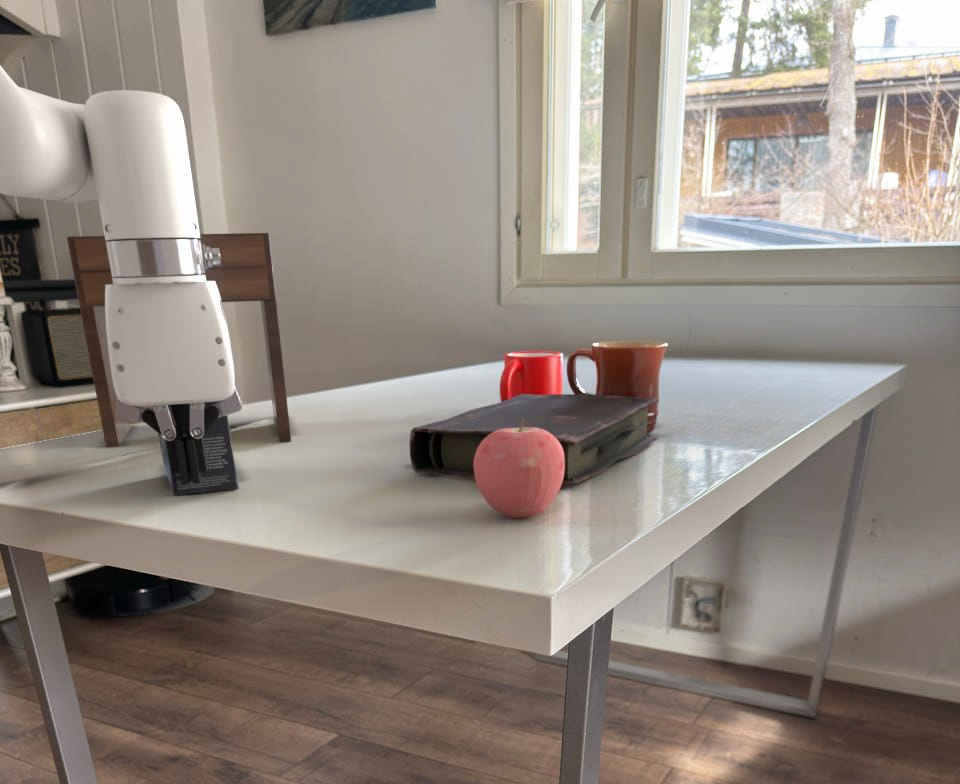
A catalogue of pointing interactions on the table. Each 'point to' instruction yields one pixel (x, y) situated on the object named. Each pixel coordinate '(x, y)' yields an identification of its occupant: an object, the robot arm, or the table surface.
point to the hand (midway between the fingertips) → (191, 480)
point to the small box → (216, 452)
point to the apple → (519, 470)
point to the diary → (568, 417)
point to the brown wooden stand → (236, 280)
